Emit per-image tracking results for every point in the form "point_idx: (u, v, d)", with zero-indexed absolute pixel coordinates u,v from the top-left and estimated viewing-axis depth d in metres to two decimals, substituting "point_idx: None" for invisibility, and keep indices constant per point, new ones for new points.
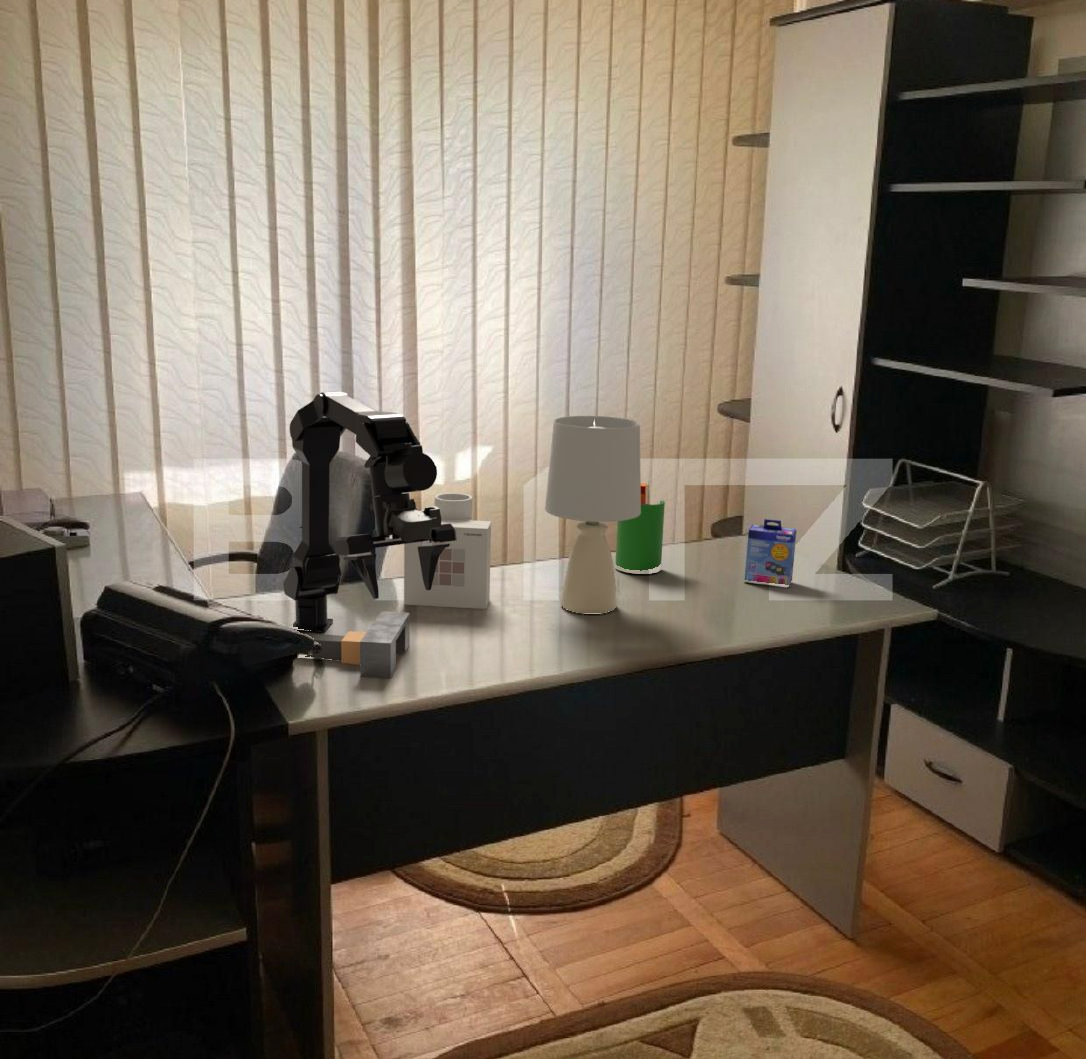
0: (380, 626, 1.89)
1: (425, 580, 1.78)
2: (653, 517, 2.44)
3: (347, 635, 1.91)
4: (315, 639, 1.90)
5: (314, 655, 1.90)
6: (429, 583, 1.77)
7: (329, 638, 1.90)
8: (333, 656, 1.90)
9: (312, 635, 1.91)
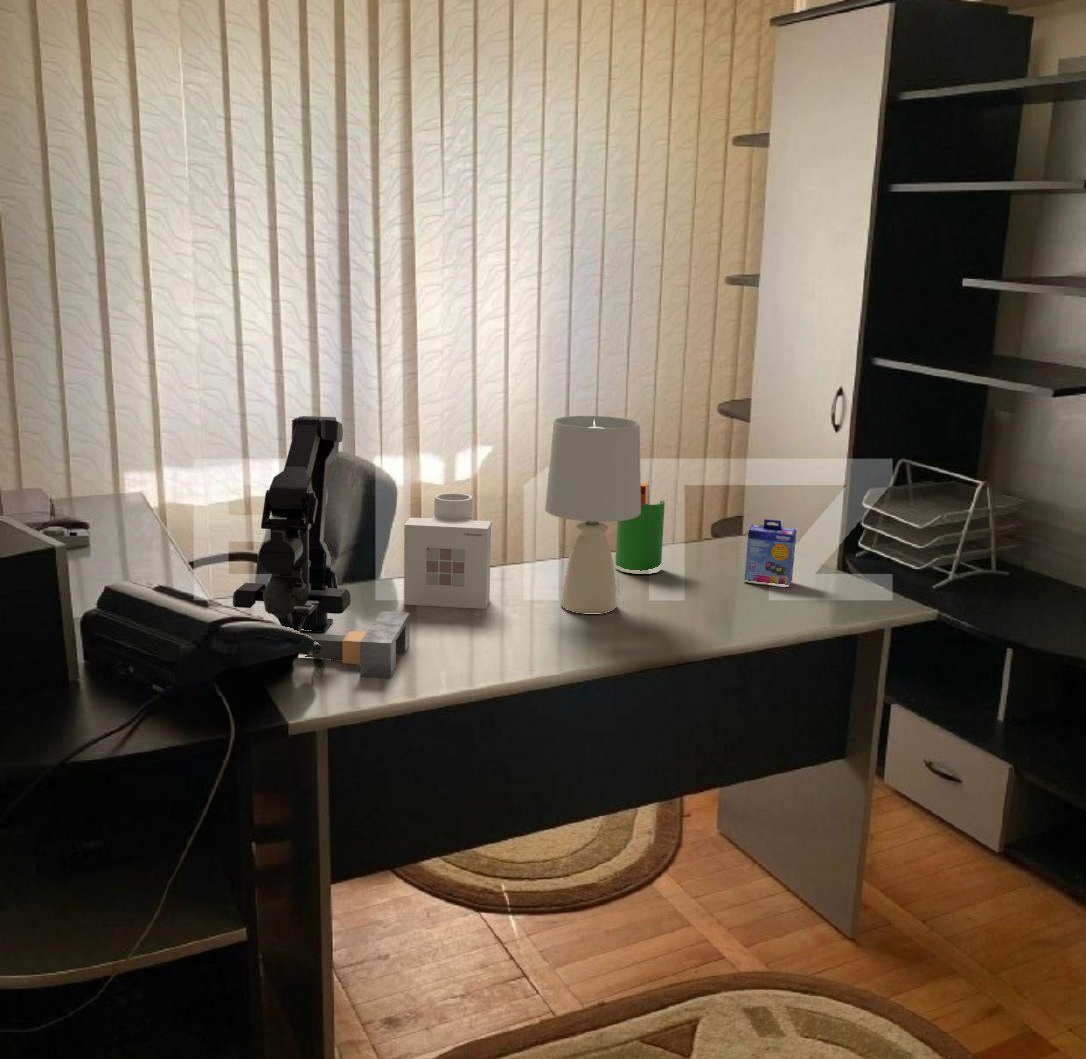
0: (380, 626, 1.89)
1: None
2: (653, 517, 2.44)
3: (348, 635, 1.90)
4: (316, 639, 1.90)
5: (315, 655, 1.90)
6: None
7: (330, 638, 1.90)
8: (334, 656, 1.90)
9: (313, 635, 1.91)
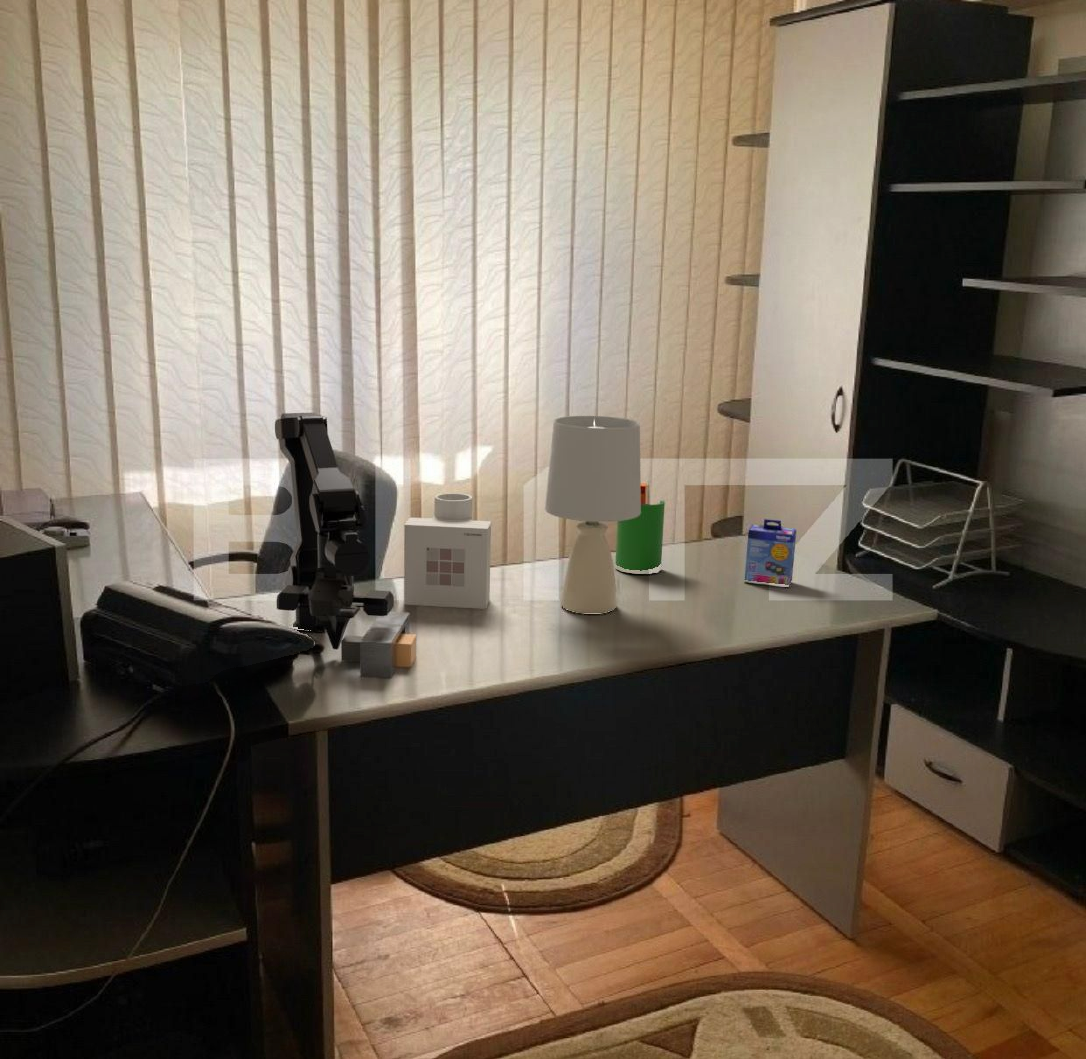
0: (380, 626, 1.89)
1: None
2: (653, 517, 2.44)
3: None
4: None
5: (359, 657, 1.89)
6: (335, 644, 1.90)
7: None
8: None
9: (357, 637, 1.91)
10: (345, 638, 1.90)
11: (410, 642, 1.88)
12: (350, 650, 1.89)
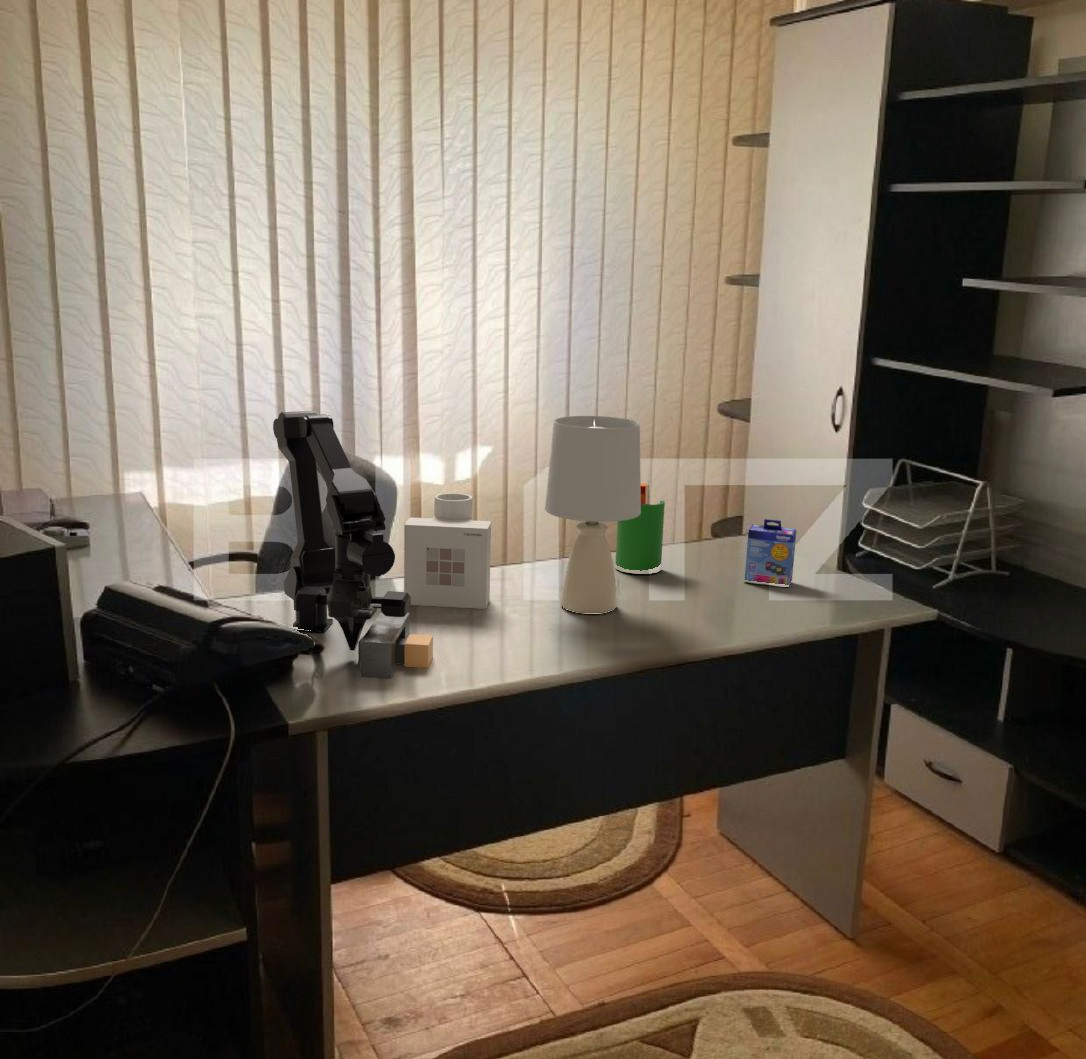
0: (380, 626, 1.89)
1: None
2: (653, 517, 2.44)
3: (409, 638, 1.90)
4: None
5: None
6: (352, 645, 1.90)
7: None
8: None
9: None
10: None
11: (427, 643, 1.88)
12: None
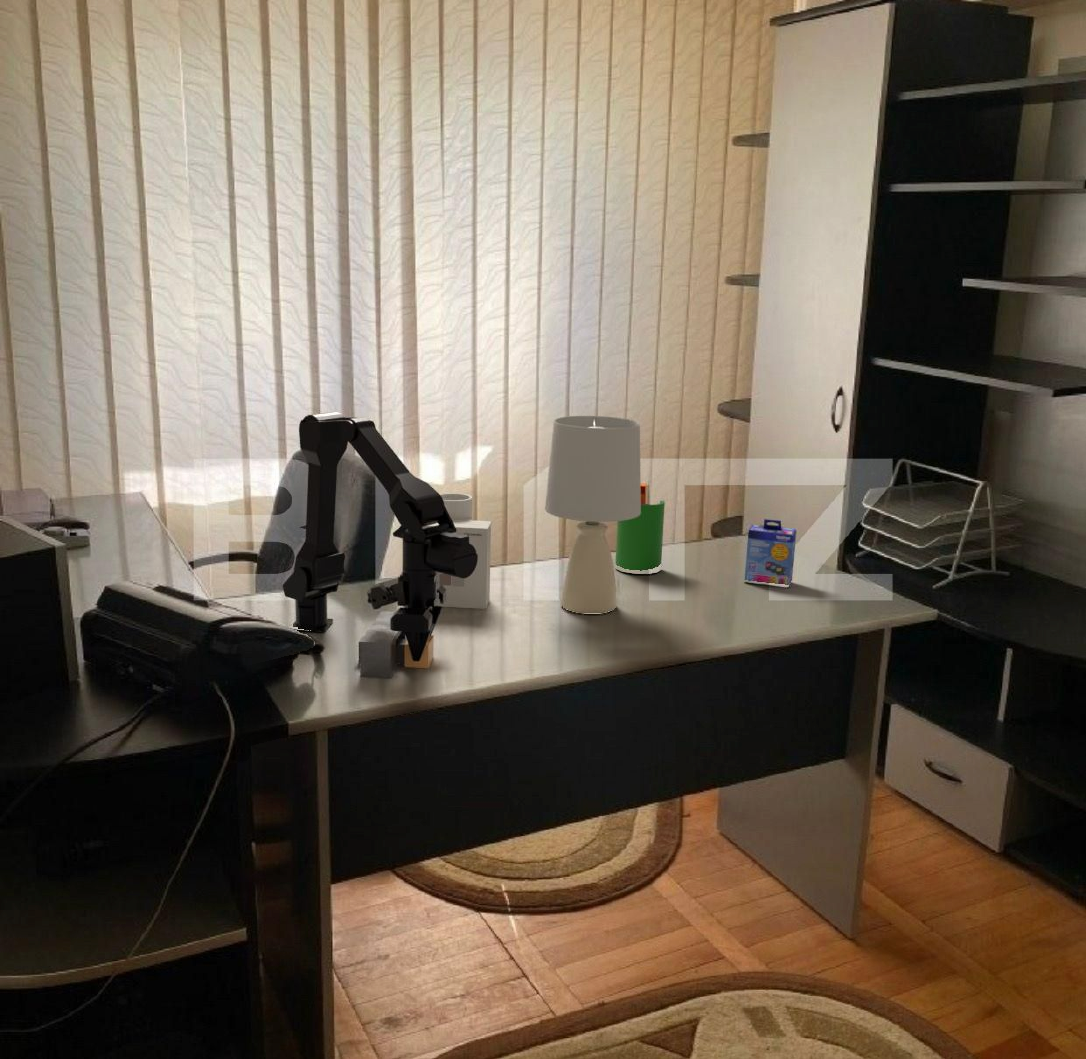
0: (380, 626, 1.89)
1: None
2: (653, 517, 2.44)
3: None
4: None
5: None
6: None
7: None
8: (396, 659, 1.89)
9: None
10: None
11: (427, 643, 1.88)
12: None
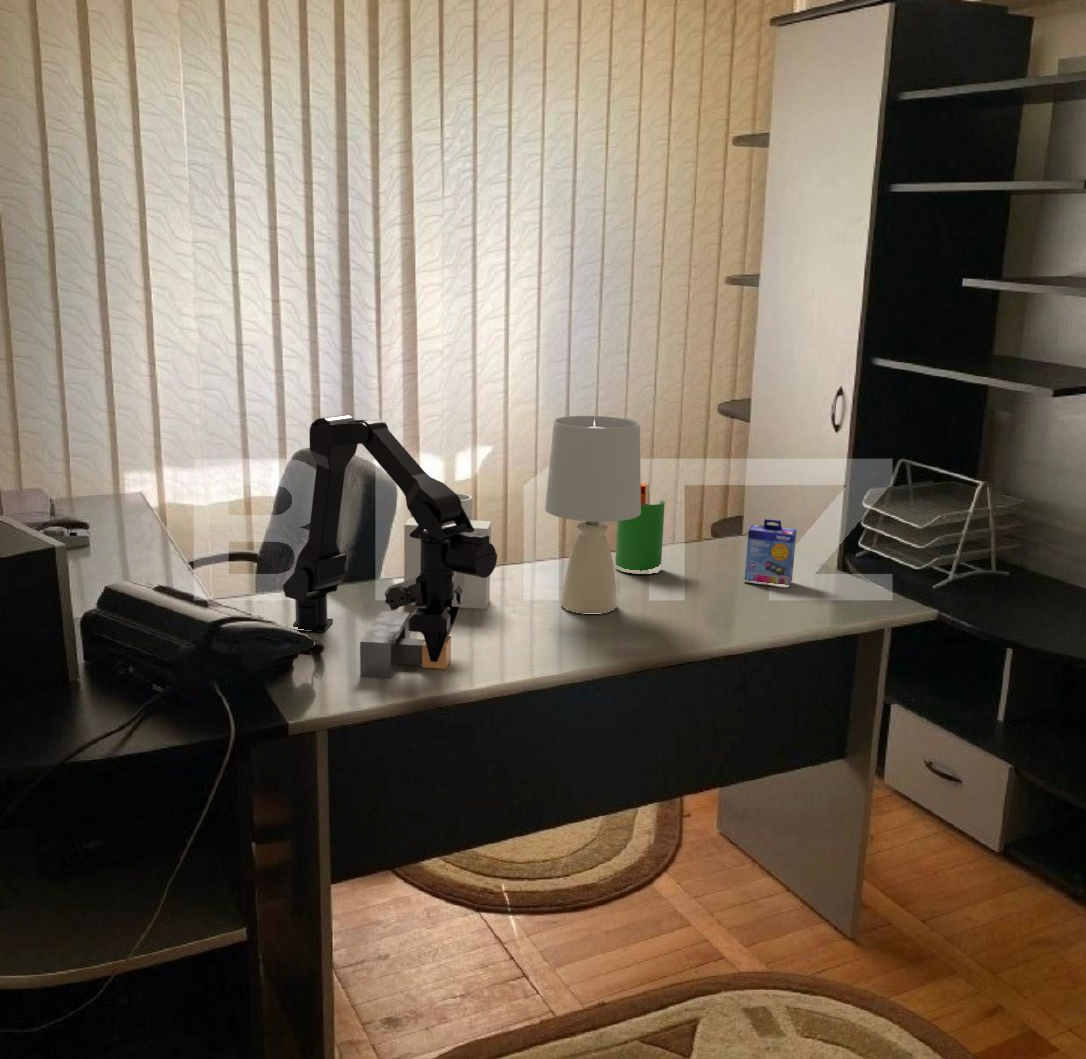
0: (380, 626, 1.89)
1: None
2: (653, 517, 2.44)
3: None
4: None
5: None
6: None
7: (409, 642, 1.89)
8: (413, 660, 1.89)
9: None
10: None
11: (445, 644, 1.87)
12: None
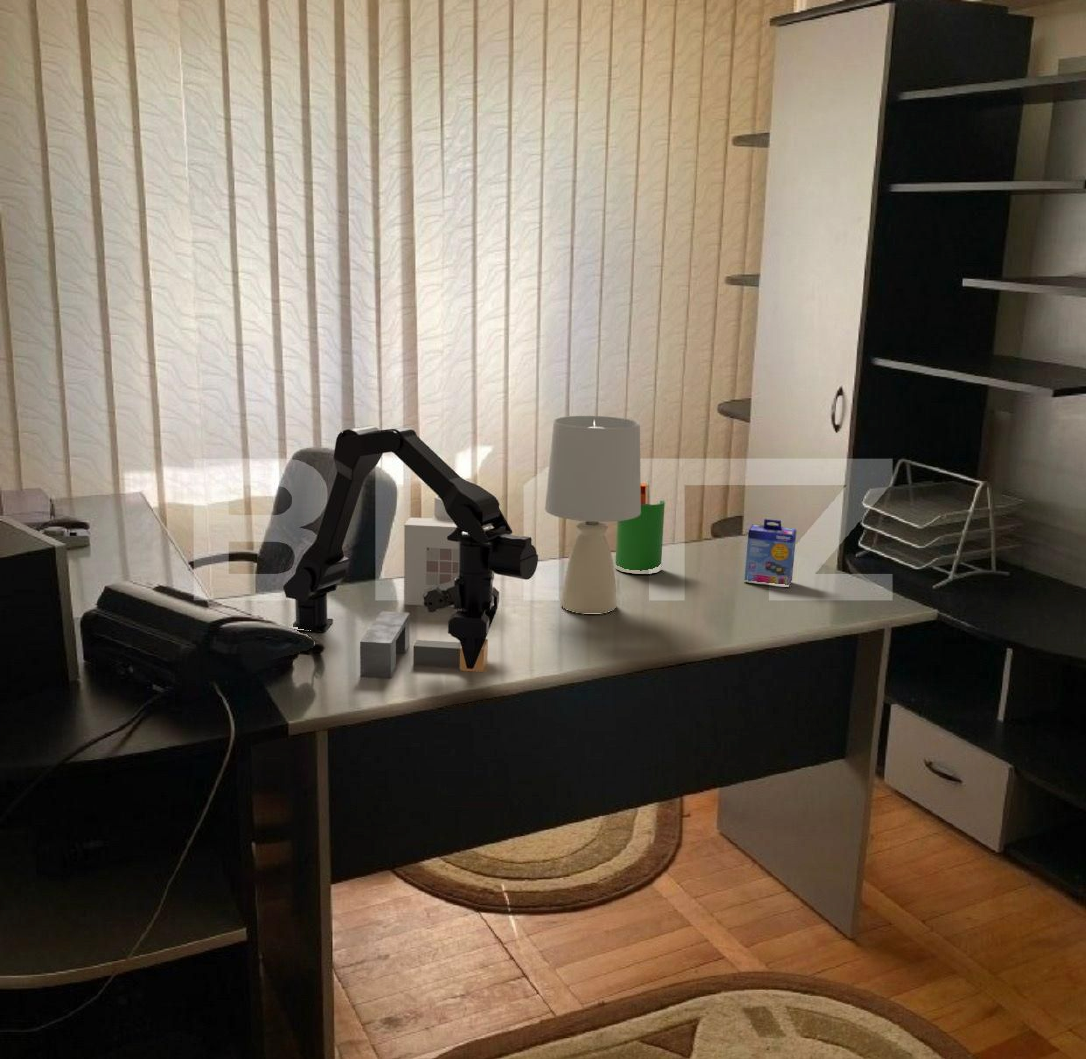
0: (380, 626, 1.89)
1: None
2: (653, 517, 2.44)
3: None
4: (432, 646, 1.88)
5: (431, 662, 1.88)
6: None
7: (446, 645, 1.89)
8: (451, 663, 1.88)
9: (428, 642, 1.90)
10: (417, 642, 1.89)
11: (483, 647, 1.87)
12: (422, 655, 1.88)
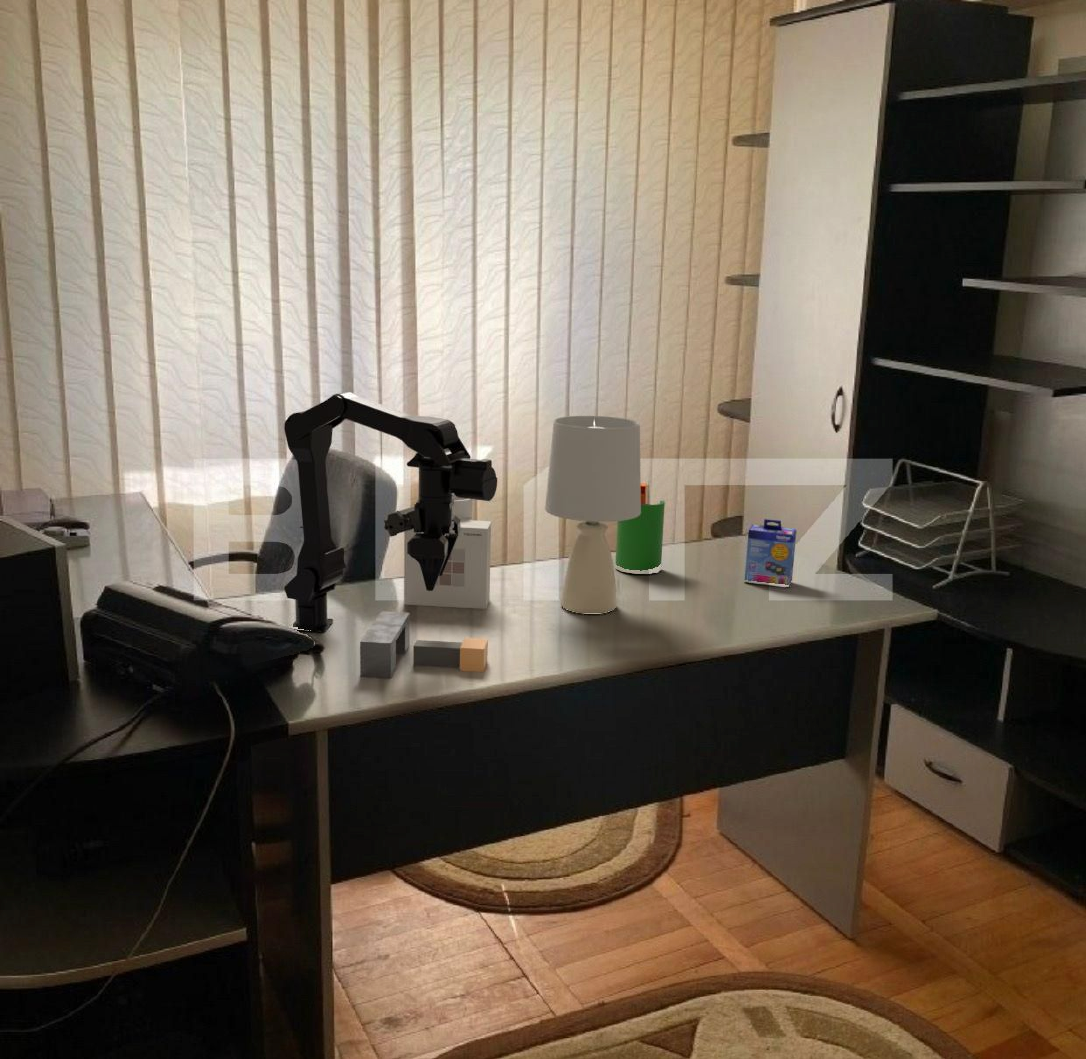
0: (380, 626, 1.89)
1: None
2: (653, 517, 2.44)
3: (464, 642, 1.89)
4: (432, 646, 1.88)
5: (431, 662, 1.88)
6: None
7: (446, 645, 1.89)
8: (451, 663, 1.88)
9: (428, 642, 1.90)
10: (417, 643, 1.89)
11: (483, 647, 1.87)
12: (422, 655, 1.88)
